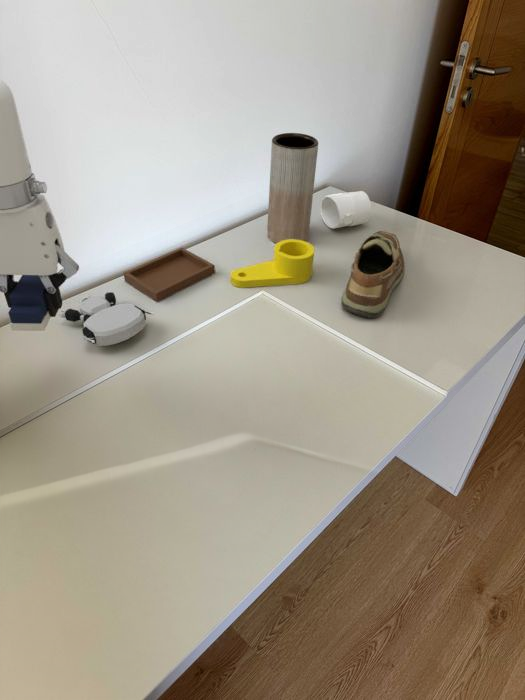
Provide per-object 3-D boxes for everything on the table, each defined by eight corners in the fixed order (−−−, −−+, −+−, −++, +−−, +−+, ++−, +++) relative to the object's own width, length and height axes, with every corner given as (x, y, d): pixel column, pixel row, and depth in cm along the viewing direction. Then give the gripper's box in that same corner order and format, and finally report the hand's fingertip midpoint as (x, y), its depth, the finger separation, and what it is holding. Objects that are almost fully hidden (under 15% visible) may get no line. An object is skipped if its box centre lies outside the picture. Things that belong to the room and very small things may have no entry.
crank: (302, 261, 118) (304, 237, 115) (317, 280, 112) (320, 255, 109) (225, 273, 113) (225, 248, 109) (237, 293, 107) (237, 268, 103)
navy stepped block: (31, 294, 80) (24, 269, 77) (61, 295, 80) (55, 270, 78) (11, 330, 73) (3, 304, 70) (44, 331, 73) (36, 305, 71)
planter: (272, 248, 123) (278, 149, 108) (262, 228, 130) (266, 133, 115) (313, 244, 125) (324, 147, 110) (301, 225, 132) (310, 131, 117)
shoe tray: (157, 302, 104) (156, 293, 103) (124, 281, 109) (123, 272, 108) (214, 273, 113) (214, 265, 112) (182, 255, 118) (181, 247, 117)
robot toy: (58, 326, 98) (99, 361, 89) (51, 306, 95) (94, 340, 87) (115, 302, 105) (159, 332, 96) (111, 282, 102) (156, 311, 93)
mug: (369, 230, 131) (375, 199, 126) (337, 236, 128) (341, 205, 123) (345, 210, 140) (349, 181, 135) (314, 215, 137) (317, 185, 132)
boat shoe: (407, 257, 122) (417, 214, 115) (392, 327, 100) (403, 280, 94) (360, 248, 124) (367, 206, 117) (336, 316, 103) (343, 269, 96)
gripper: (80, 180, 68) (101, 297, 80) (-54, 176, 67) (-13, 295, 79) (64, 205, 63) (90, 327, 74) (-82, 201, 62) (-33, 325, 73)
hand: (37, 309), depth 77 cm, fingers closed on navy stepped block, 4 cm apart
